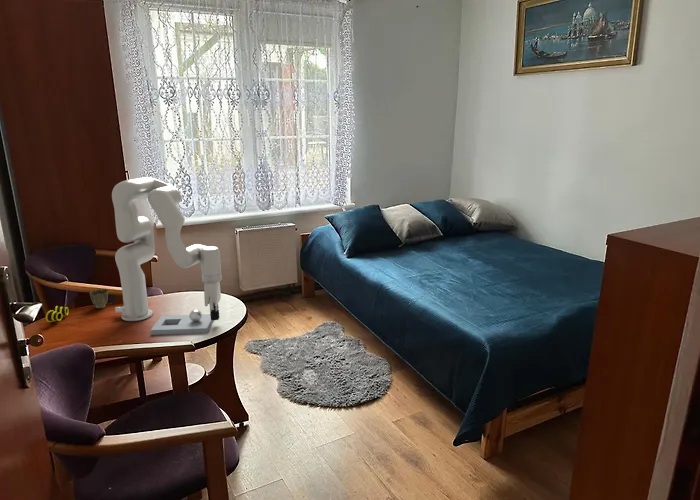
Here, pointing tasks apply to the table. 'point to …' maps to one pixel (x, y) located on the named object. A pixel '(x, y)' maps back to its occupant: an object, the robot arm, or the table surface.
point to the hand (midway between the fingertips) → (215, 319)
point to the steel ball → (195, 315)
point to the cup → (99, 298)
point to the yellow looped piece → (56, 314)
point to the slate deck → (181, 325)
